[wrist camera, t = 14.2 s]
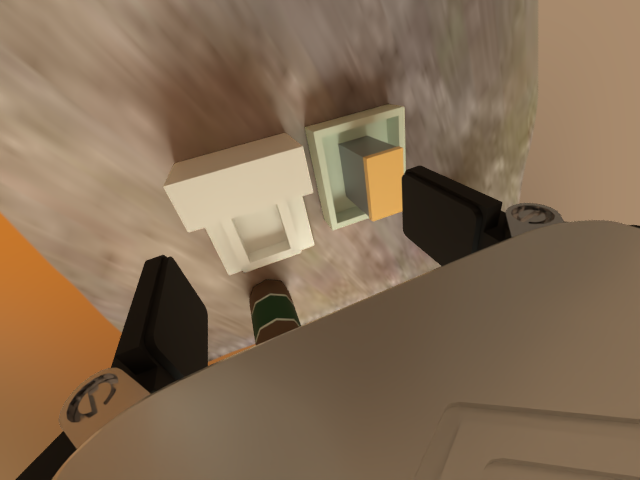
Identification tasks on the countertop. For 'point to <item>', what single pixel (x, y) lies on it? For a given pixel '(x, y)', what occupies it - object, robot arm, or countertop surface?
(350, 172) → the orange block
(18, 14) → the countertop surface
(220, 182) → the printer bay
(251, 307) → the beer bottle
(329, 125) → the tray
